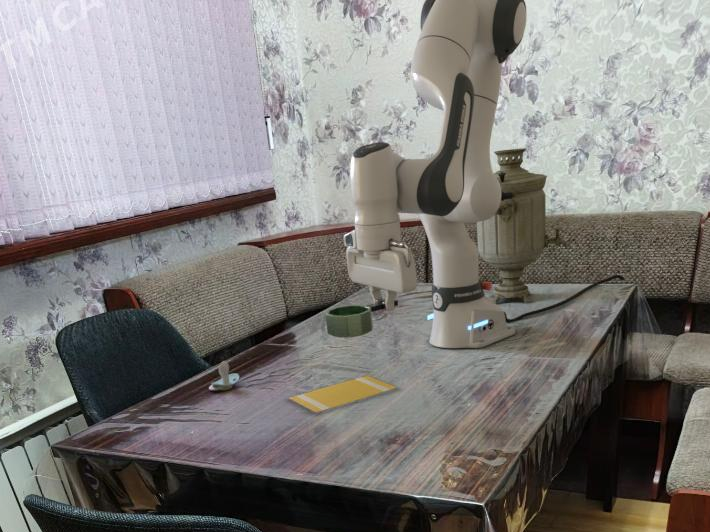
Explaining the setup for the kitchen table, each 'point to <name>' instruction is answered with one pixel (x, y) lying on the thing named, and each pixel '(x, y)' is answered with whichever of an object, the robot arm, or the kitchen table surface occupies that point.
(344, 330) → the green saucepan
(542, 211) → the samovar
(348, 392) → the towel
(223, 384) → the pacifier
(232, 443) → the kitchen table surface
